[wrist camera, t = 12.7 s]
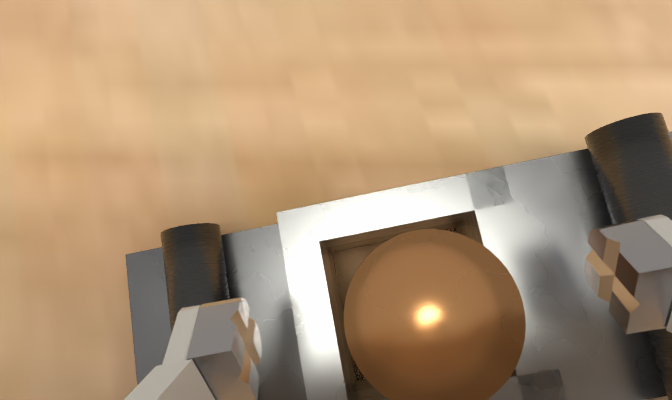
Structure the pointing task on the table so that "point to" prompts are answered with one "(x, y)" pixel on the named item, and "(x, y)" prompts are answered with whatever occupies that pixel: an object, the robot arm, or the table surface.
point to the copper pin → (434, 318)
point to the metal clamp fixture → (439, 213)
